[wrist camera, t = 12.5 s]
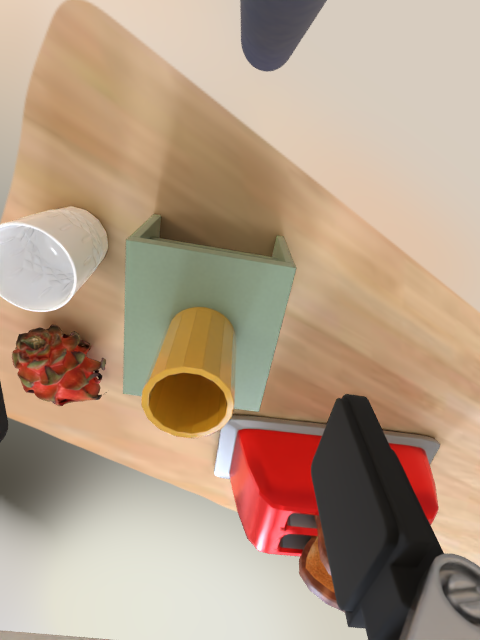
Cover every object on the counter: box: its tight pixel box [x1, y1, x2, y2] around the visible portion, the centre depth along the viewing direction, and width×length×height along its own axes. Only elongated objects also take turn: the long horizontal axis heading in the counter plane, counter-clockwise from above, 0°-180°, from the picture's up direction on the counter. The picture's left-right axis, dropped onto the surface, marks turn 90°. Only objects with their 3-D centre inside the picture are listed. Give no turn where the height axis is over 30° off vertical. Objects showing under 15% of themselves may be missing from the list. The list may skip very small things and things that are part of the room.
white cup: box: [0, 206, 108, 312], centre depth 34 cm, size 8×8×10 cm
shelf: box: [123, 214, 296, 412], centre depth 37 cm, size 16×14×10 cm
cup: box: [141, 307, 236, 438], centre depth 29 cm, size 6×6×9 cm
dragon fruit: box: [12, 325, 107, 406], centre depth 42 cm, size 8×8×12 cm
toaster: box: [214, 415, 440, 612], centre depth 46 cm, size 32×13×19 cm, turn 82°
